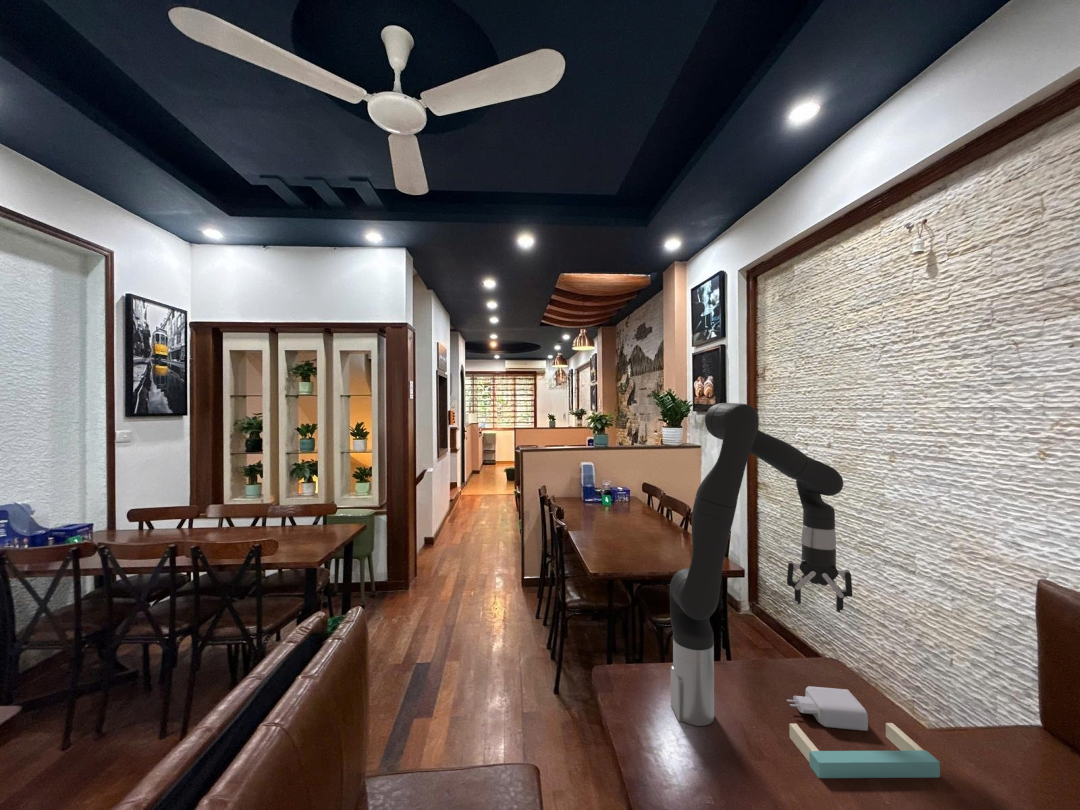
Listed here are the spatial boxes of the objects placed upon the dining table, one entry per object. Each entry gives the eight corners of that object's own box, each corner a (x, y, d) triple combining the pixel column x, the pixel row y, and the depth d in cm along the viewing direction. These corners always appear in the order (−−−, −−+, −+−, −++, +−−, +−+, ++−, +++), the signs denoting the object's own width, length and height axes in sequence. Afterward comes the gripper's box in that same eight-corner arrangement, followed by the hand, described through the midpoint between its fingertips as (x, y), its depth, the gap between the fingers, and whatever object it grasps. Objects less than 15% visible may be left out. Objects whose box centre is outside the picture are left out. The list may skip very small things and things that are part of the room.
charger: (780, 700, 111) (846, 706, 109) (796, 726, 102) (868, 733, 100) (780, 681, 111) (845, 687, 109) (796, 705, 102) (868, 712, 100)
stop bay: (819, 778, 87) (818, 762, 87) (787, 737, 98) (787, 723, 98) (940, 777, 87) (939, 761, 87) (894, 736, 98) (894, 723, 98)
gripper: (787, 543, 115) (786, 606, 115) (854, 552, 108) (853, 619, 108) (787, 536, 121) (786, 596, 121) (850, 544, 114) (850, 608, 114)
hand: (818, 607), depth 114 cm, fingers open, 8 cm apart
